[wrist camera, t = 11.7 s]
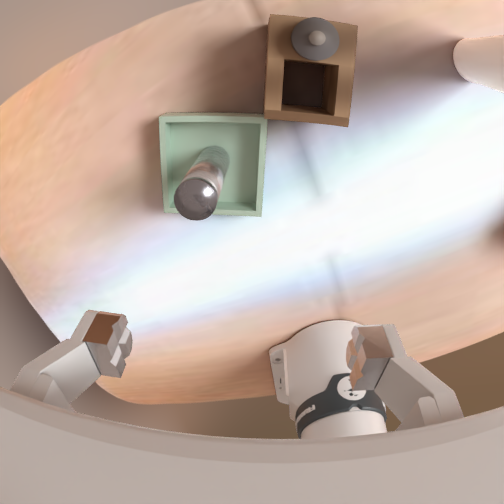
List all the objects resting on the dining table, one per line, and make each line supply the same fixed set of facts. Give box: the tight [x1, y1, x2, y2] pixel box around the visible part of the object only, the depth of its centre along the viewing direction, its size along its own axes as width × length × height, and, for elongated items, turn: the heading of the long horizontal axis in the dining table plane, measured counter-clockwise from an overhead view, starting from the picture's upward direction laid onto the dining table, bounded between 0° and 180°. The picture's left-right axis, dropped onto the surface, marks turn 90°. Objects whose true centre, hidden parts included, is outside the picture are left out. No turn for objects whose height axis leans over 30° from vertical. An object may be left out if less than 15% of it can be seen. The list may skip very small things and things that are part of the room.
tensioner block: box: [263, 14, 358, 127], centre depth 24 cm, size 9×7×8 cm
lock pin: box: [174, 145, 230, 220], centre depth 28 cm, size 3×3×11 cm
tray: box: [159, 112, 268, 217], centre depth 32 cm, size 10×10×2 cm
